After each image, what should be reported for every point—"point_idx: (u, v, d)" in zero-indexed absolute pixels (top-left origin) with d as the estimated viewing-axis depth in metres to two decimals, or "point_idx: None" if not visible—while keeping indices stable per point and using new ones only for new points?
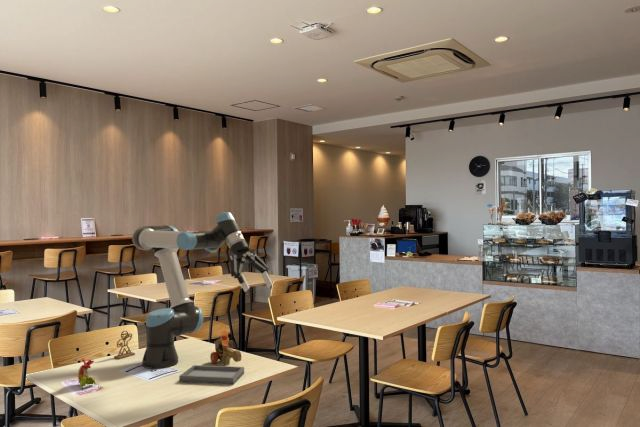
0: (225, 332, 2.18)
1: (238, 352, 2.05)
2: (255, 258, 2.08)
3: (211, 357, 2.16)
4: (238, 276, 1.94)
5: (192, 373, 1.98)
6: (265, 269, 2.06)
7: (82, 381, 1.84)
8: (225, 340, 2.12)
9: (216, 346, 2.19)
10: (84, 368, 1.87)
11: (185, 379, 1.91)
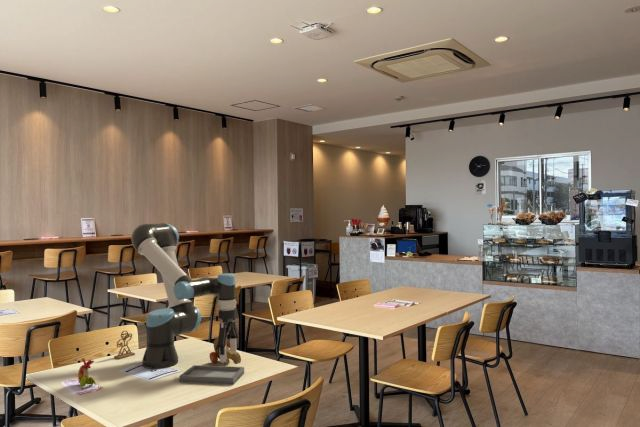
0: None
1: (237, 355, 2.04)
2: (232, 323, 2.20)
3: (210, 357, 2.16)
4: (222, 348, 2.05)
5: (192, 373, 1.98)
6: (235, 336, 2.21)
7: (82, 381, 1.84)
8: None
9: (215, 345, 2.18)
10: (84, 368, 1.87)
11: (185, 379, 1.91)
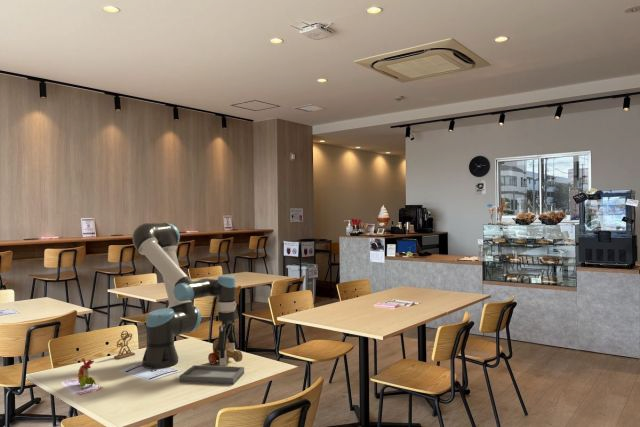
0: None
1: (239, 352, 2.05)
2: None
3: (209, 358, 2.15)
4: (222, 351, 2.07)
5: (192, 373, 1.98)
6: (234, 341, 2.20)
7: (82, 381, 1.84)
8: None
9: (214, 347, 2.18)
10: (84, 368, 1.87)
11: (185, 379, 1.91)
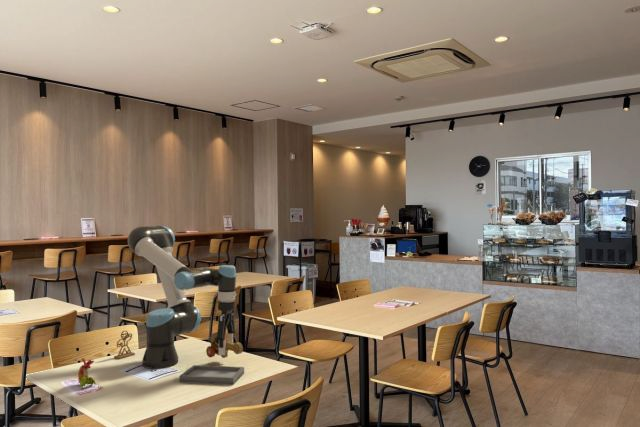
0: None
1: (240, 344, 2.06)
2: None
3: (207, 351, 2.15)
4: (221, 341, 2.07)
5: (192, 373, 1.98)
6: (233, 331, 2.19)
7: (82, 381, 1.84)
8: None
9: (212, 340, 2.17)
10: (84, 368, 1.87)
11: (185, 379, 1.91)
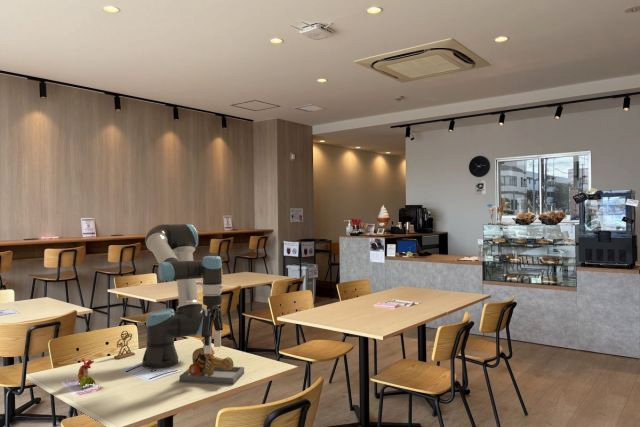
0: None
1: (230, 359, 1.89)
2: None
3: (190, 370, 1.94)
4: (207, 338, 1.89)
5: None
6: (220, 328, 2.02)
7: (82, 381, 1.84)
8: None
9: (194, 357, 1.98)
10: (84, 368, 1.87)
11: (185, 379, 1.91)
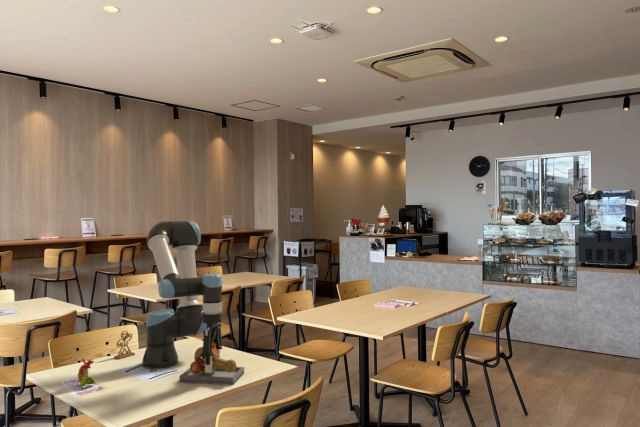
0: None
1: (233, 362, 1.90)
2: None
3: (192, 367, 1.95)
4: (208, 357, 1.90)
5: (192, 373, 1.98)
6: (219, 347, 2.01)
7: (82, 381, 1.84)
8: (214, 349, 1.94)
9: (197, 355, 1.98)
10: (84, 368, 1.87)
11: (185, 379, 1.91)
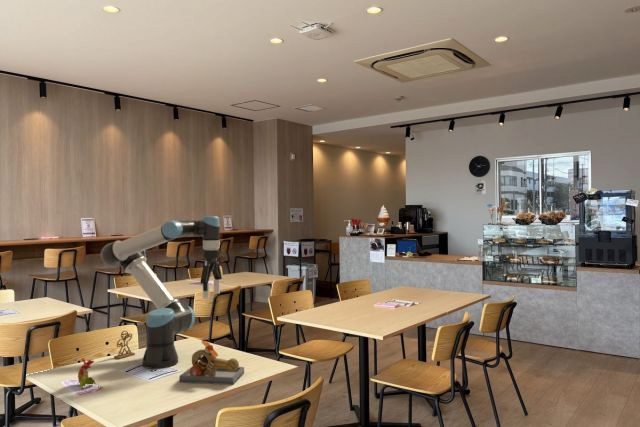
0: (206, 342, 1.96)
1: (235, 360, 1.90)
2: (216, 264, 2.29)
3: (192, 372, 1.92)
4: (205, 284, 2.15)
5: None
6: (219, 277, 2.30)
7: (82, 381, 1.84)
8: (213, 351, 1.92)
9: (194, 359, 1.95)
10: (84, 368, 1.87)
11: (185, 379, 1.91)
